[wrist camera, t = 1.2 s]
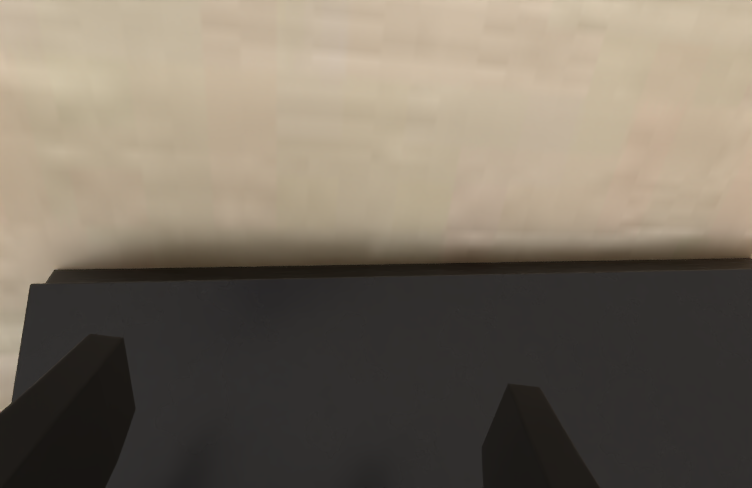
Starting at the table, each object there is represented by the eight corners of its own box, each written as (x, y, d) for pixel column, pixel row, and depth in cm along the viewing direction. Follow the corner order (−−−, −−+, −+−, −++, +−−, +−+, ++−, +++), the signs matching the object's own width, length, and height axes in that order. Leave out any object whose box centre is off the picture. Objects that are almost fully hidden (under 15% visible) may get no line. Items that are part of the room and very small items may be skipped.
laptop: (630, 554, 36) (646, 580, 35) (120, 619, 30) (112, 653, 29) (751, 257, 27) (780, 275, 25) (53, 269, 21) (37, 293, 20)
